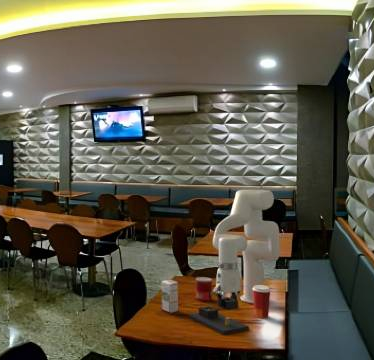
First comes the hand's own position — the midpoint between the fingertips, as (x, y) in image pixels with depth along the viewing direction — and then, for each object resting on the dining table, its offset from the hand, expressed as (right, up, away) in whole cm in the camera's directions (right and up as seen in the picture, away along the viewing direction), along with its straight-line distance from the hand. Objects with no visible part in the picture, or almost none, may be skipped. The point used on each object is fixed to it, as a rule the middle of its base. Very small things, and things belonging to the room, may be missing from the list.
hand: (227, 305), depth 195 cm
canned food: (+4, -8, +41) cm, 42 cm away
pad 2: (0, -1, 0) cm, 1 cm away
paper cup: (+22, -9, +14) cm, 28 cm away
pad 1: (-4, -8, +12) cm, 15 cm away
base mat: (-2, -10, +6) cm, 12 cm away
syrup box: (-19, -9, +24) cm, 32 cm away
